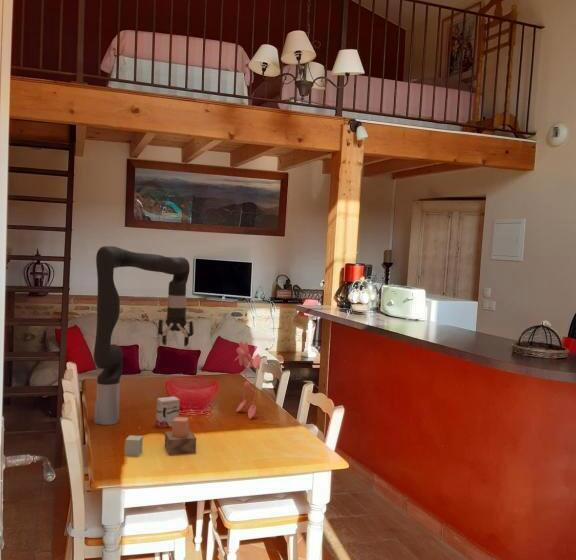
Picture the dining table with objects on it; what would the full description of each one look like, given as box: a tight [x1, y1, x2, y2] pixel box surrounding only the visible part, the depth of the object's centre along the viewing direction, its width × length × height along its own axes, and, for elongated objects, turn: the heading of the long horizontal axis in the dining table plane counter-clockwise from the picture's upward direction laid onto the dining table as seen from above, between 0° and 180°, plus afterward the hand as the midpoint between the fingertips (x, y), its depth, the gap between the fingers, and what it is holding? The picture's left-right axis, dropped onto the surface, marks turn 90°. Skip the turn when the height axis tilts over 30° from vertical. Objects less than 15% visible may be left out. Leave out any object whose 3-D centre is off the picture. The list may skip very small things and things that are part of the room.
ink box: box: [155, 395, 180, 429], centre depth 263 cm, size 8×5×12 cm, turn 123°
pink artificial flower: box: [226, 340, 262, 423], centre depth 281 cm, size 15×26×35 cm, turn 30°
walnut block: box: [164, 429, 197, 456], centre depth 234 cm, size 10×10×6 cm
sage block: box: [124, 435, 144, 457], centre depth 227 cm, size 5×5×6 cm
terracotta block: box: [171, 416, 190, 437], centre depth 233 cm, size 5×5×6 cm
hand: (175, 345), depth 253 cm, fingers open, 8 cm apart
